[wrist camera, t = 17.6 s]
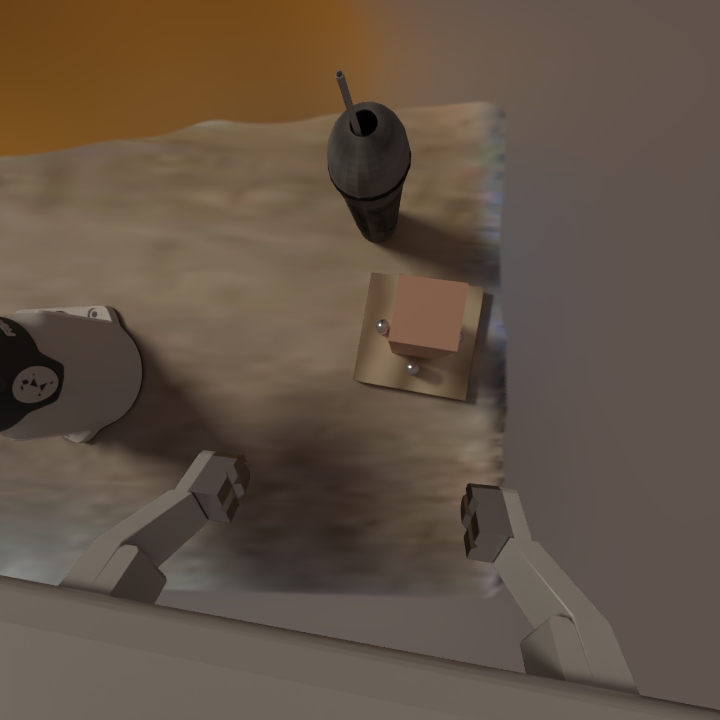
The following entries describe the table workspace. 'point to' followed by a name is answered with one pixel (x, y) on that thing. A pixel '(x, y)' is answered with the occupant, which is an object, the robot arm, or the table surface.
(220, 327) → the table surface
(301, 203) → the table surface
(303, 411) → the table surface
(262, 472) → the table surface
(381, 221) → the beverage cup
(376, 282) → the pin plate
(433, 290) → the terracotta post
